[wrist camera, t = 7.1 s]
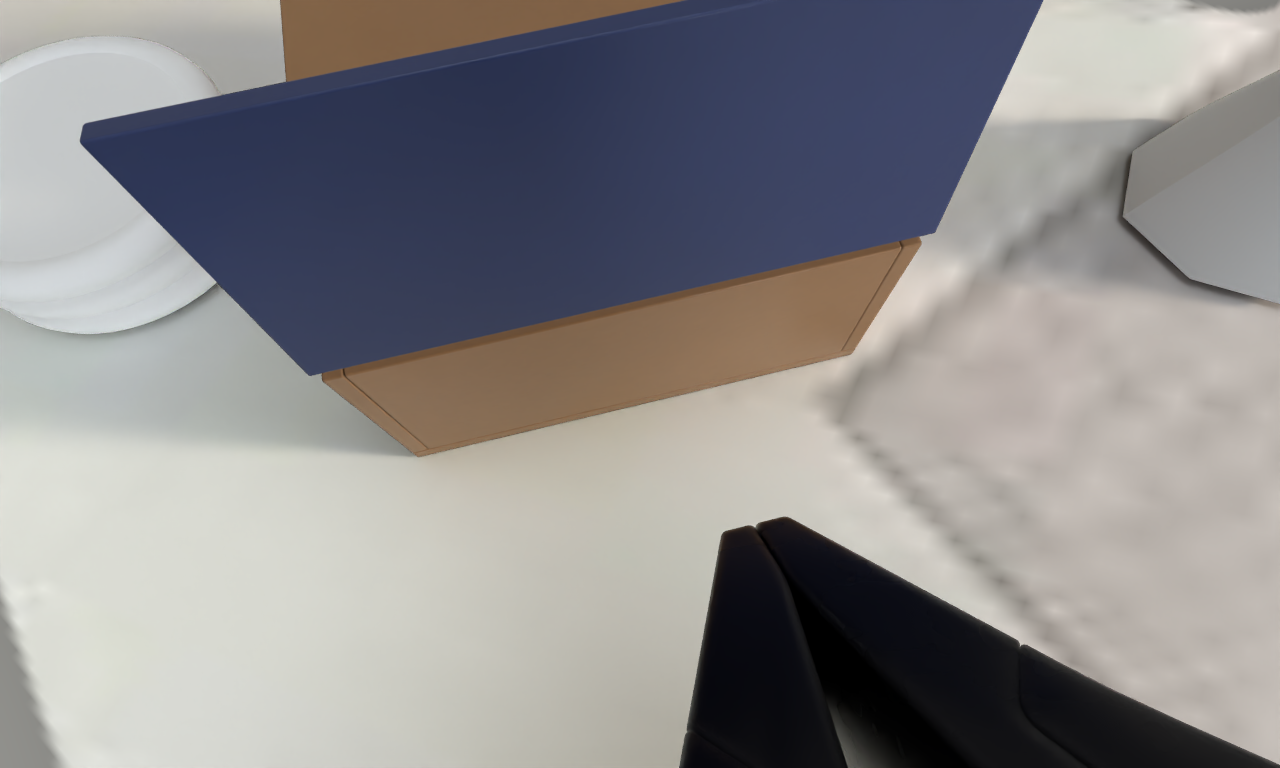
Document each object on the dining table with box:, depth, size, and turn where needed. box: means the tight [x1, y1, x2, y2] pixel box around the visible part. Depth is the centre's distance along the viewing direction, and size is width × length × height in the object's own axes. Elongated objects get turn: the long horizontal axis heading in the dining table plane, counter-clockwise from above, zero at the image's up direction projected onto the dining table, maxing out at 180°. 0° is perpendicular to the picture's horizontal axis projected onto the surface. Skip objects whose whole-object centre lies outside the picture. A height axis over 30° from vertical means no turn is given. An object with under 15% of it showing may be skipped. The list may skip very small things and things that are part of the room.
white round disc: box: [0, 36, 222, 334], centre depth 23 cm, size 10×10×4 cm
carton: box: [280, 0, 922, 457], centre depth 21 cm, size 13×14×7 cm
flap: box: [80, 0, 1043, 376], centre depth 12 cm, size 6×14×1 cm
